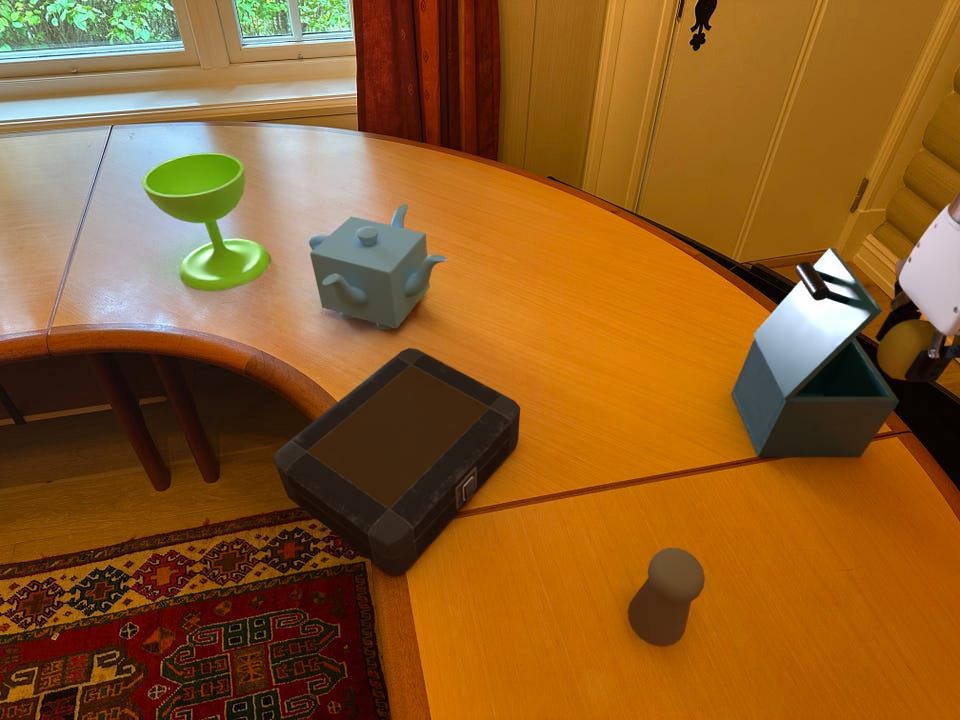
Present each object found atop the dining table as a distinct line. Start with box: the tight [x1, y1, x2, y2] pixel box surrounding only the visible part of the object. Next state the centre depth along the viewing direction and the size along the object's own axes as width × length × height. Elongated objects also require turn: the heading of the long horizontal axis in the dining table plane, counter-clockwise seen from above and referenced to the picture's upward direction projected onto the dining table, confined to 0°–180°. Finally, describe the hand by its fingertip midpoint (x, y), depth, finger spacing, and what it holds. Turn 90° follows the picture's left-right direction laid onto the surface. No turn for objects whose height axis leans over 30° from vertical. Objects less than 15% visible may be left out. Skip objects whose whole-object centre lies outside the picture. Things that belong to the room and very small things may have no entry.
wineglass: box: [141, 152, 271, 292], centre depth 106 cm, size 16×16×18 cm
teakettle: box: [308, 203, 448, 330], centre depth 98 cm, size 19×19×15 cm
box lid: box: [752, 247, 883, 399], centre depth 71 cm, size 14×12×5 cm
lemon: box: [876, 319, 935, 381], centre depth 65 cm, size 6×6×8 cm
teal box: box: [730, 337, 900, 458], centre depth 80 cm, size 14×12×11 cm
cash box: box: [273, 347, 521, 577], centre depth 76 cm, size 25×20×8 cm
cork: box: [627, 547, 706, 647], centre depth 61 cm, size 6×6×11 cm
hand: (904, 358), depth 66 cm, fingers closed on lemon, 5 cm apart
